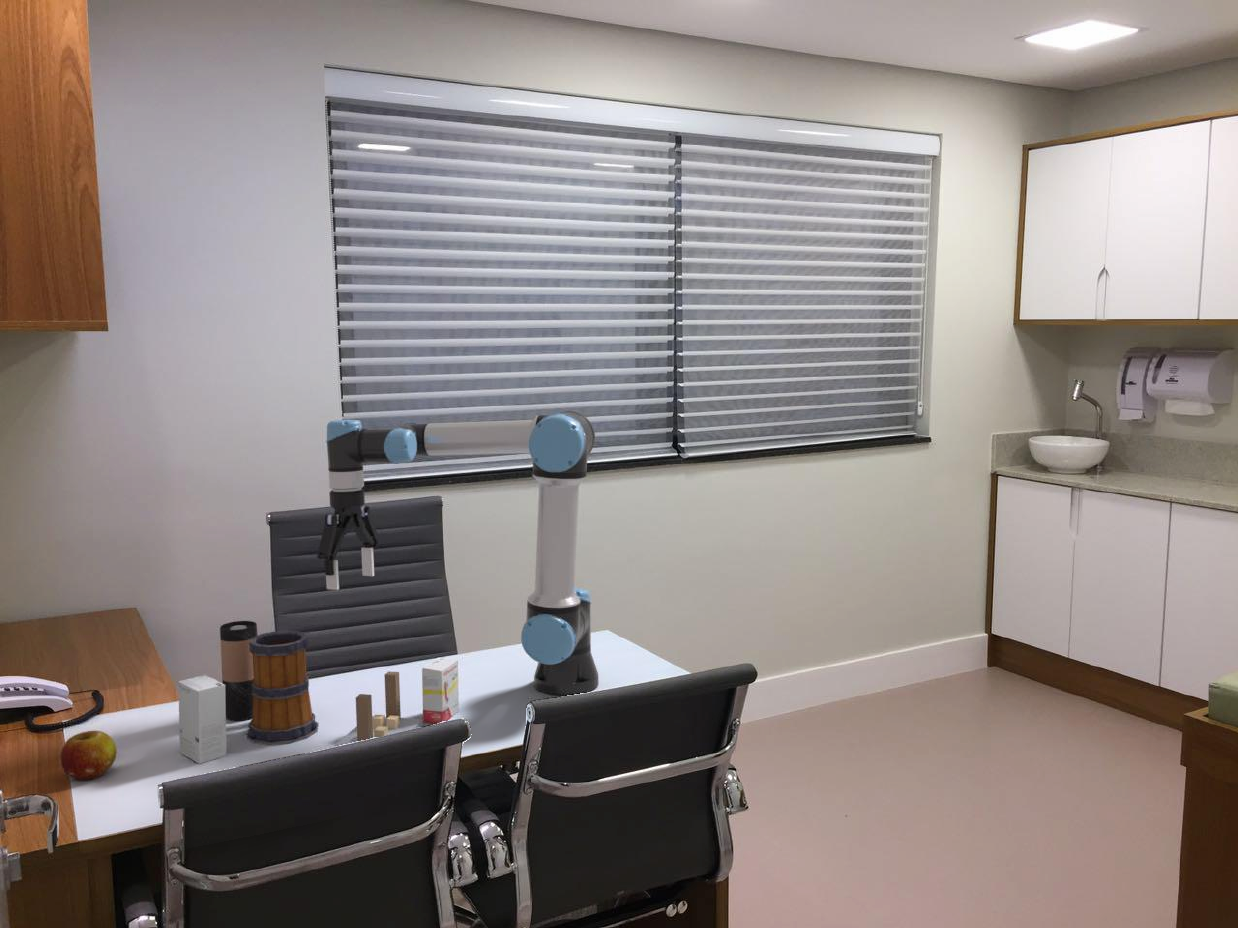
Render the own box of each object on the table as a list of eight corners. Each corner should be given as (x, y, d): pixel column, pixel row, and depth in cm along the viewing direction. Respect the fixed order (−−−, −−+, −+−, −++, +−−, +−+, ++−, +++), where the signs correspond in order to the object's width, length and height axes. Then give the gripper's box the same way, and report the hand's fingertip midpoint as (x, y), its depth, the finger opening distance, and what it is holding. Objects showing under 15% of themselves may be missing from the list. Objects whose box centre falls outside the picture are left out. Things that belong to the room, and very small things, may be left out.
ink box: (443, 724, 215) (441, 670, 213) (421, 722, 216) (420, 668, 215) (460, 710, 223) (459, 658, 222) (439, 708, 224) (438, 656, 223)
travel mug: (269, 710, 224) (264, 622, 221) (245, 723, 216) (241, 631, 214) (240, 707, 226) (235, 619, 224) (216, 719, 219) (211, 628, 217)
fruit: (50, 780, 189) (46, 739, 188) (90, 761, 197) (88, 722, 196) (88, 788, 185) (85, 746, 184) (128, 768, 194) (126, 728, 193)
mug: (270, 710, 224) (265, 621, 222) (335, 710, 223) (331, 621, 221) (234, 745, 205) (229, 648, 202) (305, 745, 204) (301, 648, 202)
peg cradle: (422, 725, 214) (420, 673, 213) (392, 756, 198) (390, 699, 197) (368, 722, 216) (366, 670, 215) (334, 752, 201) (332, 696, 199)
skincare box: (179, 754, 200) (174, 681, 199) (208, 744, 205) (204, 673, 203) (200, 765, 195) (196, 690, 193) (230, 755, 200) (225, 681, 198)
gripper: (364, 481, 240) (368, 569, 243) (297, 496, 217) (302, 593, 220) (392, 482, 238) (395, 571, 240) (326, 498, 215) (331, 596, 217)
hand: (351, 582), depth 230 cm, fingers open, 13 cm apart
